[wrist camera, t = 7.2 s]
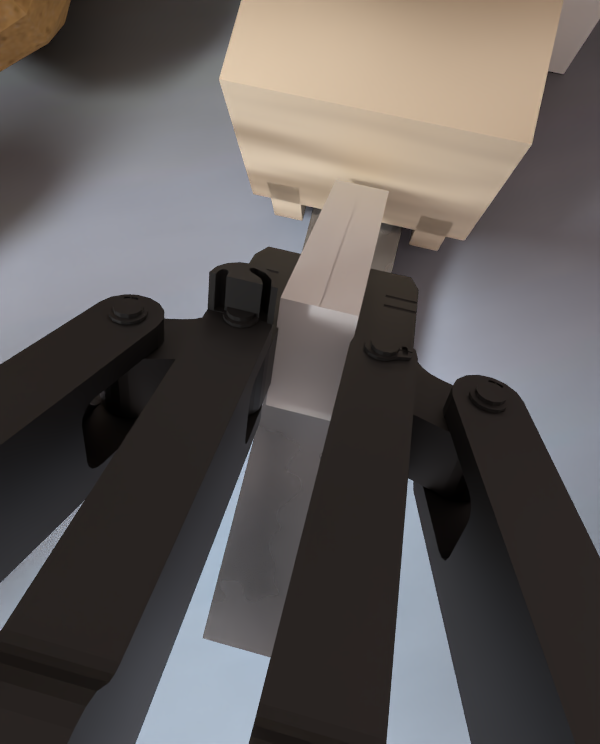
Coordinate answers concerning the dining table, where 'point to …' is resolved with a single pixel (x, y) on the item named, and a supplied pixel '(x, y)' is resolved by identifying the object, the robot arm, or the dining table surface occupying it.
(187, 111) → the dining table surface
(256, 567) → the rail track
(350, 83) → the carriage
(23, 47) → the potato
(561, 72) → the end cabinet
